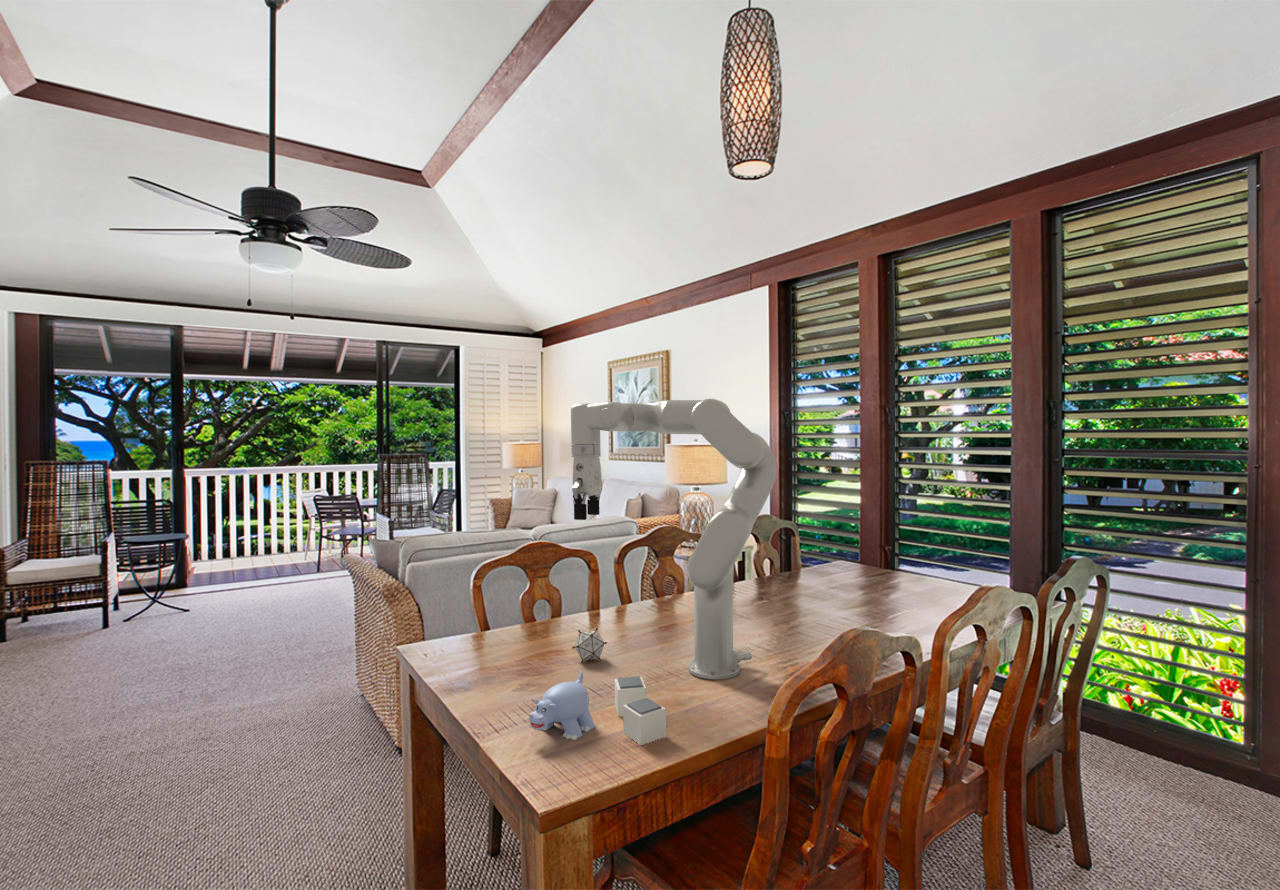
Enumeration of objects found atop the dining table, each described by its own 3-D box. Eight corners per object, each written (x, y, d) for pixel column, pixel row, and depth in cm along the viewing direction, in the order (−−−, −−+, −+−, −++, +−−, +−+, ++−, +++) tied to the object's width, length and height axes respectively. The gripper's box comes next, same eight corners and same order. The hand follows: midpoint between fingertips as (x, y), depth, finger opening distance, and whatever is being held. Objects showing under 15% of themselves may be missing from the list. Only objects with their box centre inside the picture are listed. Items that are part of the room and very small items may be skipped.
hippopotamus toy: (513, 739, 120) (512, 690, 120) (563, 709, 133) (563, 665, 133) (555, 754, 115) (555, 702, 114) (604, 721, 127) (603, 675, 127)
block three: (642, 702, 136) (641, 675, 136) (646, 714, 130) (646, 685, 130) (614, 704, 135) (614, 677, 135) (618, 716, 129) (617, 688, 129)
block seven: (648, 725, 125) (648, 696, 125) (666, 737, 120) (665, 706, 120) (623, 733, 122) (622, 703, 122) (640, 746, 117) (640, 714, 117)
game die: (594, 676, 160) (600, 653, 154) (565, 663, 162) (569, 640, 156) (608, 650, 167) (614, 627, 162) (579, 637, 169) (584, 614, 163)
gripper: (588, 452, 152) (589, 522, 152) (610, 450, 169) (611, 513, 169) (559, 452, 154) (560, 521, 154) (584, 450, 171) (585, 512, 171)
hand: (587, 517), depth 162 cm, fingers open, 9 cm apart
